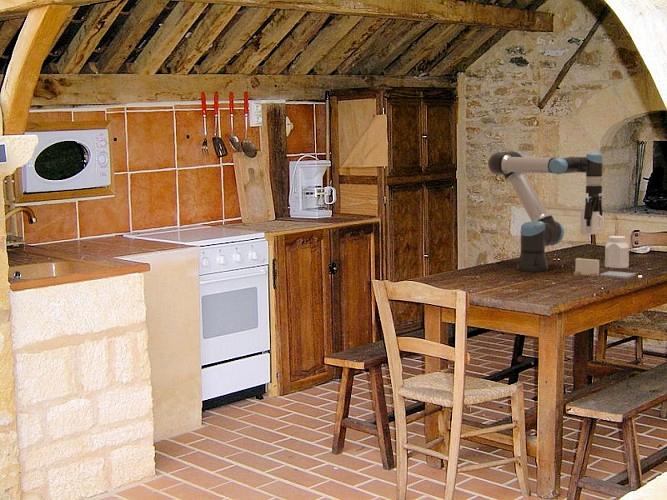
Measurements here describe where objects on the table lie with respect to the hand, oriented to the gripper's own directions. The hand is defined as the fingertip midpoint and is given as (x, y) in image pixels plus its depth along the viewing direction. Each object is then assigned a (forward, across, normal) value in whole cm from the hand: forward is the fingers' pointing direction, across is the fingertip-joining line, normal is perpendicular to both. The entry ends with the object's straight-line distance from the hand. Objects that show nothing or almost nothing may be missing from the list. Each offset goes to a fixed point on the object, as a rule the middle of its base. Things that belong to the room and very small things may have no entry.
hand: (593, 231), depth 456 cm
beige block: (+19, -13, -3) cm, 24 cm away
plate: (+19, -7, -16) cm, 26 cm away
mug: (+1, 0, 0) cm, 1 cm away
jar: (+19, +20, -4) cm, 28 cm away
